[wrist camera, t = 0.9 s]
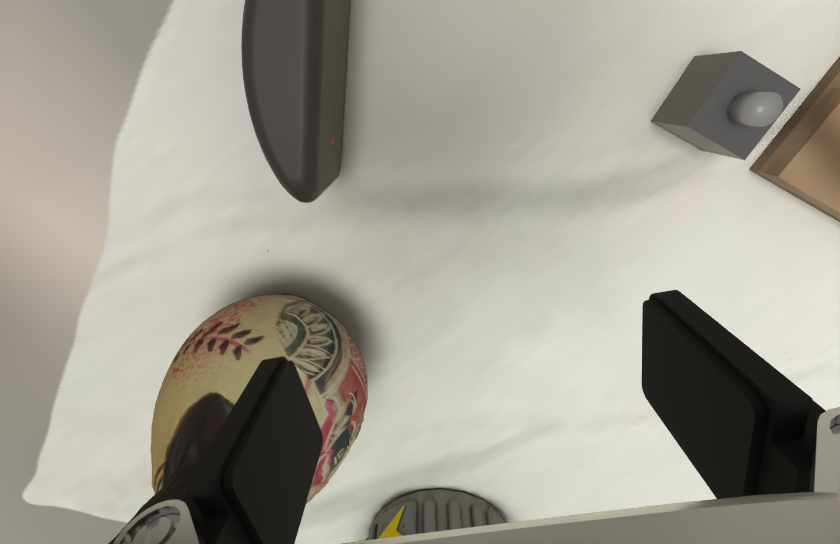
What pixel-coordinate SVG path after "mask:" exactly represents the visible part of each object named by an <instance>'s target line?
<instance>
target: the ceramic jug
mask: <svg viewBox="0 0 840 544" xmlns="http://www.w3.org/2000/svg"><path fill="white" fill-rule="evenodd" d="M267 252H268V251H267ZM282 356H284V357H286V359H287V360H288V361H289V360H291V361H293V362H294V364H295V366H296V369H297V371H298V374H299V376H300V379H301V381H302V384H303V386H304V389H305V391H306V394H307V396H308V399H309V401H310V404H311V406H312V409H313V411H314V414H315V416H316V419H317V421H318V424H319V426H320V429H321V431H322V435H323V446H322V450H321V453H320V456H319V460H318V463H317V467H316V470H315V474H314V477H313V481H312V484H311V488H310V491H309V494H308V498H307V501H306V504H307V503H308V502H309V501H310V500H311V499H312V498H313V497H314V496H315V495H316V494H317V493H319V492H320V491H321V489H322V488H323V487H324V486H325V485H326V484H327V483H328V481H329V480H330V478H331V477H332V476H333V475H334V473H335V472H336V470H337V469H338V467H339V466H340V464H341V463H342V461H343V460H344V458H345V457H346V455H347V453H348V452H349V450H350V448H351V446H352V444H353V442H354V441H355V439H356V438H357V436H358V433H359V431H360V429H361V424H362V422H363V417H364V411H365V408H366V404H367V399H368V397H367V374H366V371H365V365H364V362H363V359H362V356H361V353H360V351H359V349H358V347H357V345H356V343H355V342H354V340H353V339H352V337H351V336H350V334H349V333H348V331H347V330H346V329H345V327H344V326H343V325H342V324H341V323H340V322H339V321H338V320H337V319H336V318H334V317H333V316H331V315H330V314H328V313H327V312H325V311H324V310H322V309H321V308H320V307H318V306H316V305H314V304H313V303H311V302H309V301H307V300H305V299H303V298H300V297H297V296H295V295H285V294H284V295H263V296H257V297H253V298H249V299H245V300H242V301H239V302H236V303H233V304H231V305H228V306H226V307H224V308H223V309H221V310H219V311H218V312H216V313H215V314H214V315H212V316H211V317H210V318H208V319H207V320H205V321H204V322H203V323H202V324H201V325H200V326H199V327H198V328H197V329H196V330H195V331H194V332H193V333H192V334H191V335H190V336H189V337H188V339H187V340H186V341H185V343H184V344H183V345H182V347H181V348H180V350H179V351H178V353H177V355H176V356H175V358H174V359H173V361H172V363H171V365H170V367H169V369H168V372H167V374H166V376H165V378H164V380H163V383H162V386H161V388H160V391H159V394H158V398H157V401H156V404H155V410H154V416H153V422H152V435H151V455H152V487H153V490H154V492H155V495H154V496H153V497H152V498H151V499H150V500H149V501H148V502H147V503H146V504H145V505H143V506H142V507H141V508H140V510H139V511H138V512H137V514H136V515H135V516H134V517H133V518H132V519H131V520H130V521H129V523H130V522H131V521H132V520H133V519H134V518H135V517H136V516H138V515H139V514H141V513H142V512H143V511H145V510H146V509H148V508H150V507H152V506H154V505H155V504H157V503H160V502H163V501H166V500H176V499H178V500H180V501H181V500H182V499H183V497H184V495H185V493H186V492H187V489H186V485H187V483H188V482H189V480H190V478H191V477H192V475H193V473H194V472H195V470H196V468H197V467H198V465H199V463H200V462H201V460H202V458H203V457H204V455H205V453H206V452H207V450H208V448H209V447H210V445H211V443H212V442H213V440H214V438H215V437H216V435H217V434H218V432H219V430H220V429H221V427H222V425H223V424H224V422H225V420H226V419H227V417H228V415H229V414H230V412H231V410H232V409H233V407H234V405H235V404H236V402H237V400H238V399H239V397H240V395H241V394H242V392H243V390H244V389H245V387H246V385H247V384H248V382H249V380H250V379H251V377H252V376H253V374H254V372H255V371H256V369H257V367H258V366H259V364H260V362H261V361H262V360H264V359H270V358H276V357H282ZM129 523H128V524H129ZM128 524H127V525H128ZM127 525H126V526H127ZM126 526H125V527H126ZM125 527H124V528H125ZM124 528H123V529H124ZM123 529H122V530H123ZM120 533H121V532H120ZM120 533H119V534H120ZM119 534H118V535H119ZM118 535H117V536H116V537H115V538H114V539H113V540H112V541H111V542H110V543H109V544H113V543H114V541H115V539H116V538H117V537H118Z"/></svg>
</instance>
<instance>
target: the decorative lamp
mask: <svg viewBox="0 0 840 544" xmlns="http://www.w3.org/2000/svg"><path fill="white" fill-rule="evenodd" d="M503 523H505V521H504V520H503V519H502V517H501V515H500V514H499V512H498V511H497V510H495V509H494V508H493V507H491V506H490V505H489V504H488V503H486V502H485V501H484V500H482V499H479V498H477V497H474V496H471V495H469V494H466V493H464V492H459V491H452V490H444V489H436V490H424V491H418V492H415V493H412V494H409V495H405V496H402V497H400V498H398V499H396V500H395V501H393V502H392V503H390V504H389V505H387V506H386V507H384V508H383V509H382V510H381V511H380V512H379V514H378V515H377V517H376V518H375V519H374V521H373V522H372V527H371V529H370V532H369V538H367V539H366V540H374V539H382V538H390V537H398V536H405V535H413V534H421V533H429V532H438V531H446V530H454V529H462V528H470V527H478V526H486V525H495V524H503ZM366 540H365V541H366Z"/></svg>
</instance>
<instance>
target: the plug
mask: <svg viewBox="0 0 840 544" xmlns="http://www.w3.org/2000/svg"><path fill="white" fill-rule="evenodd" d="M799 90H800V88H798V87H797V86H795V85H794V84H792V83H790V82H789V81H787V80H786V79H784V78H783V77H781V76H779V75H778V74H776V73H775V72H773V71H772V70H770V69H768V68H767V67H765V66H764V65H762V64H761V63H759V62H758V61H756V60H754V59H753V58H751V57H750V56H748V55H747V54H745V53H743V52H742V51H738V52H730V53H721V54H712V55H704V56H695V57H694V58H693V59H692V61H691V62H690V64H689V65H688V67H687V68H686V70H685V71H684V73H683V74H682V76H681V77H680V79H679V80H678V82H677V83H676V85H675V86H674V88H673V89H672V91H671V92H670V94H669V95H668V97H667V98H666V100H665V101H664V103H663V104H662V106H661V107H660V109H659V110H658V112H657V113H656V115H655V116H654V118H653V119H652V121H651V122H653V123H655V124H656V125H658V126H660V127H662V128H663V129H665V130H667V131H669V132H670V133H672V134H674V135H676V136H677V137H679V138H681V139H683V140H684V141H686V142H688V143H690V144H691V145H693V146H695V147H697V148H698V149H700V150H703V151H707V152H711V153H716V154H720V155H725V156H729V157H733V158H738V159H742V160H745V159H746V158H747V156H748V155H749V154H750V153H751V151H752V150H753V149H754V148H755V146H756V145H757V144H758V143H759V141H760V140H761V139H762V137H763V136H764V135H765V134H766V132H767V131H768V130H769V129H770V127H771V126H772V125H773V123H774V122H775V121H776V120H777V118H778V117H779V116H780V115H781V113H782V112H783V111H784V110H785V108H786V107H787V106H788V104H789V103H790V102H791V101H792V99H793V98H794V97H795V96H796V94H797V93H798V92H799Z"/></svg>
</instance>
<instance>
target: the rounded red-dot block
mask: <svg viewBox="0 0 840 544" xmlns="http://www.w3.org/2000/svg"><path fill="white" fill-rule="evenodd" d="M349 13H350V0H245V5H244V13H243V24H242V68H243V79H244V86H245V93H246V98H247V103H248V108H249V112H250V116H251V120H252V123H253V127H254V130H255V133H256V136H257V138H258V141H259V143H260V146H261V149H262V151H263V153H264V155H265V157H266V160H267V161H268V163H269V165H270V167H271V169H272V171H273V172H274V174H275V176H276V177H277V179H278V180H279V182H280V183H281V185H282V186H283V187H284V188H285V190H286V191H287V192H288V193H289V194H290V195H292V196H293V197H294V198H295V199H297V200H298V201H300V202H304V203H309V202H312V201H314V200H315V199H317V198H318V197H319V196H320V195H321V194H322V193H323V192H324V191H325V190H326V189H327V187H328V186H329V185H330V184H331V183H332V182H333V181H334V180H335V179H336V178H337V177H338V174H339V170H340V162H341V147H342V130H343V113H344V97H345V80H346V63H347V47H348V30H349Z"/></svg>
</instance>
